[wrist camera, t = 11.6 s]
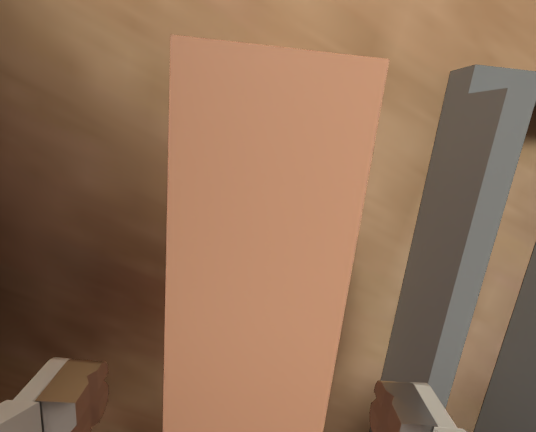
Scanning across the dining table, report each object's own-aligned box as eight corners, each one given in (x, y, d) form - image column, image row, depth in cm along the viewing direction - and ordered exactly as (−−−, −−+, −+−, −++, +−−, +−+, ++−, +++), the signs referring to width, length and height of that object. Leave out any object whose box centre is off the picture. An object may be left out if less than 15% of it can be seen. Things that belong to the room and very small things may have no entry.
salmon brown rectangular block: (232, 95, 17) (169, 33, 5) (302, 102, 17) (389, 59, 5) (213, 390, 22) (157, 701, 10) (267, 394, 22) (274, 704, 10)
